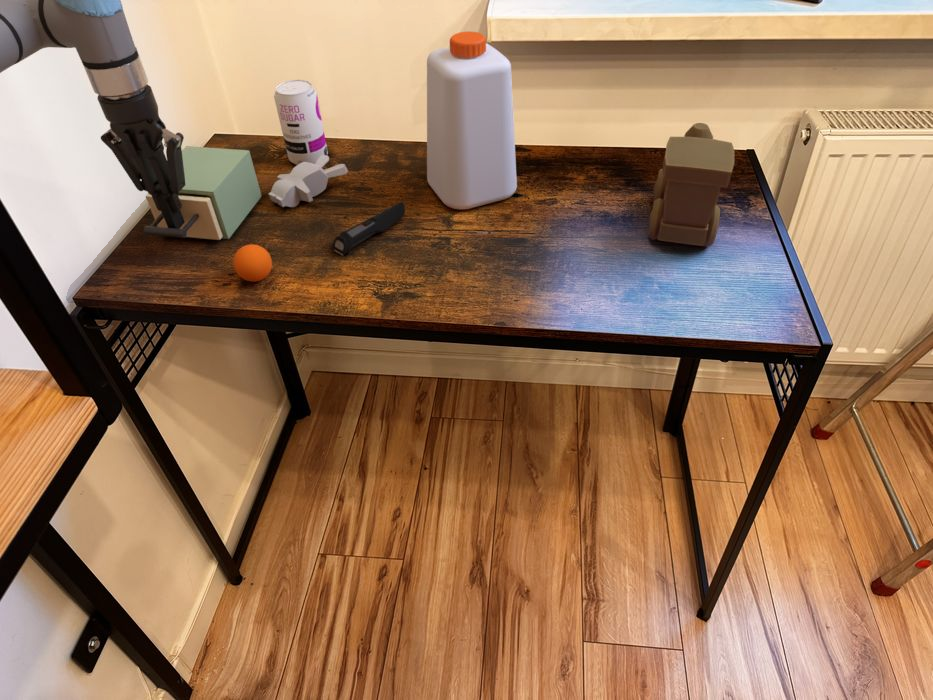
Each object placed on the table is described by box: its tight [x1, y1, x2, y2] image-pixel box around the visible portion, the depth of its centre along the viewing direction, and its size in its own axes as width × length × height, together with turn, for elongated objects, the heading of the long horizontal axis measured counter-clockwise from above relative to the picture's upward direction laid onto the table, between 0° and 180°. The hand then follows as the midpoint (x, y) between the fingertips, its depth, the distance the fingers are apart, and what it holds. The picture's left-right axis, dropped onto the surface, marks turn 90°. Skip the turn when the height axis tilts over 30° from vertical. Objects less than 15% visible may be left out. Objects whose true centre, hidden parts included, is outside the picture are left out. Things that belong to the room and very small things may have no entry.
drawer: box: [143, 192, 223, 241], centre depth 118 cm, size 20×11×8 cm, turn 169°
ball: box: [232, 243, 273, 283], centre depth 109 cm, size 6×6×6 cm
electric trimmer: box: [332, 201, 406, 256], centre depth 118 cm, size 4×16×3 cm, turn 137°
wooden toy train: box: [647, 122, 735, 248], centre depth 113 cm, size 20×11×17 cm, turn 164°
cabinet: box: [179, 145, 263, 240], centre depth 122 cm, size 15×13×10 cm
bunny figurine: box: [268, 154, 349, 208], centre depth 128 cm, size 10×5×15 cm
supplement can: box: [273, 79, 329, 166], centre depth 135 cm, size 8×8×15 cm
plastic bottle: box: [426, 31, 518, 210], centre depth 120 cm, size 15×15×28 cm
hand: (177, 226), depth 114 cm, fingers closed
